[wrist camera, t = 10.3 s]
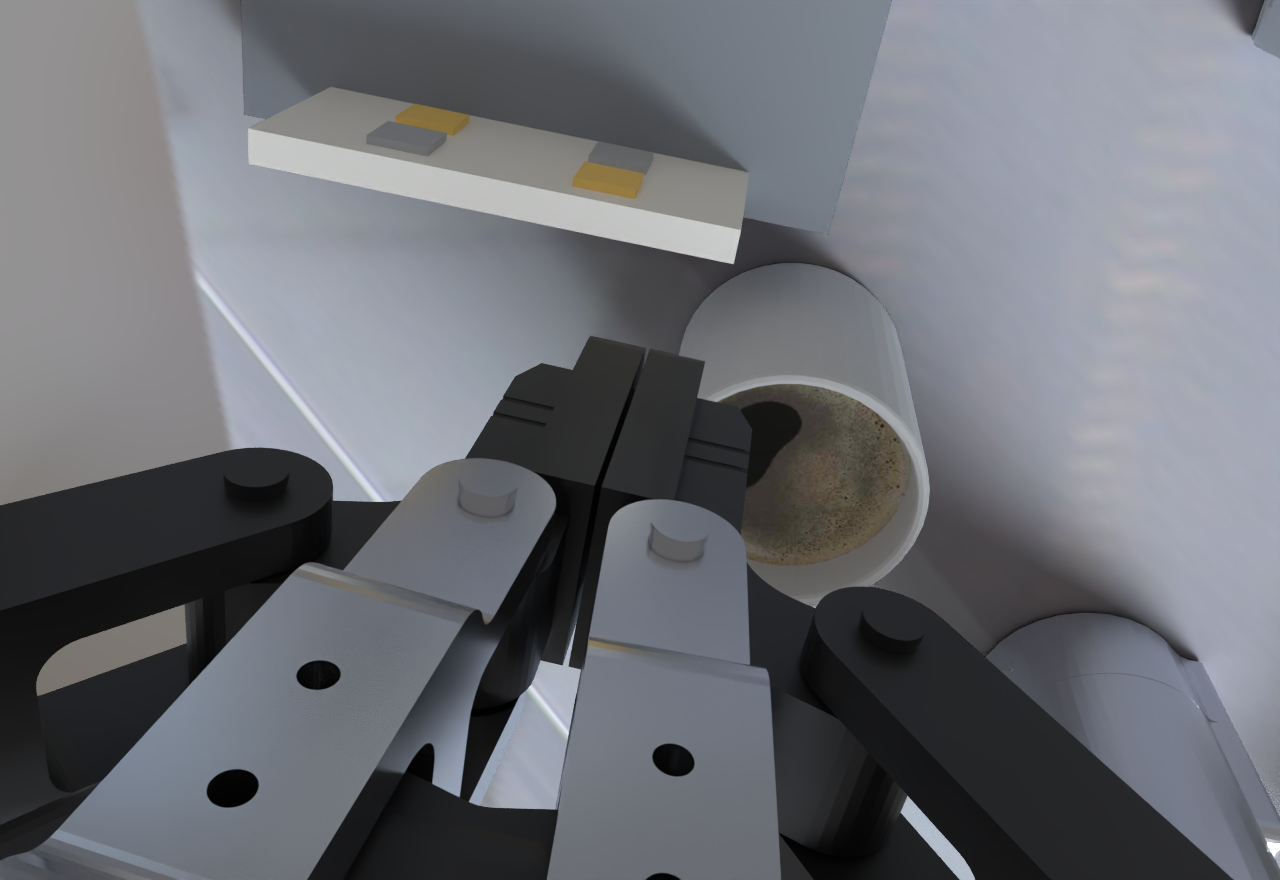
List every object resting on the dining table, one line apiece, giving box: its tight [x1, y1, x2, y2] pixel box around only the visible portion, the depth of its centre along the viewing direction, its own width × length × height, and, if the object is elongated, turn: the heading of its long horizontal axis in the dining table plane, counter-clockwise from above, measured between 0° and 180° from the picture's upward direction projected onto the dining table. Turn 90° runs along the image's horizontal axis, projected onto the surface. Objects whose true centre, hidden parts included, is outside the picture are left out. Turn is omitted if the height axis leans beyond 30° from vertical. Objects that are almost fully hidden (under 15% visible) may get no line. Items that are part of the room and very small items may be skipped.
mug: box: [679, 263, 930, 606], centre depth 38 cm, size 11×10×10 cm
